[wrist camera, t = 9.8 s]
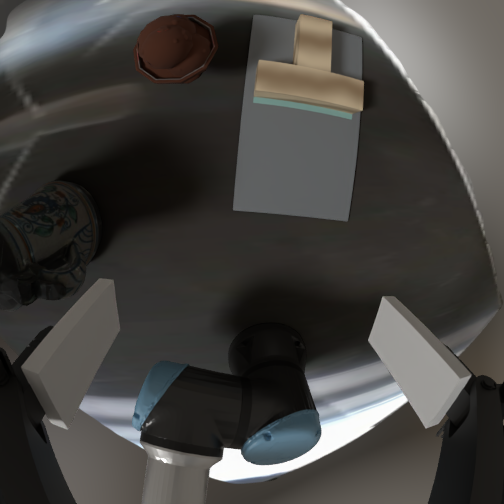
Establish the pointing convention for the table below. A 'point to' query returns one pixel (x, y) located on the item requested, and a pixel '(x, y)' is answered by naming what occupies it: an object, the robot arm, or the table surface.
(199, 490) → the robot arm
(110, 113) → the table surface
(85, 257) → the beer stein
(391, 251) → the table surface
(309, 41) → the t block
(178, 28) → the ice cream bowl
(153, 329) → the table surface
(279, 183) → the push board
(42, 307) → the table surface
